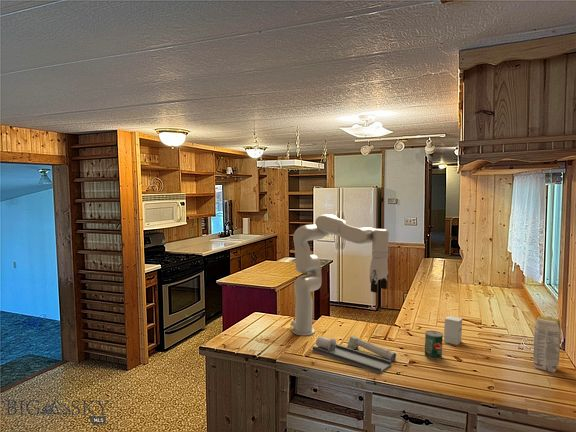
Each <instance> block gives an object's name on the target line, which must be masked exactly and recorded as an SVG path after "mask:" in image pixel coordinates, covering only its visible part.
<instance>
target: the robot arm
mask: <svg viewBox="0 0 576 432" xmlns="http://www.w3.org/2000/svg"><path fill="white" fill-rule="evenodd" d="M329 234H332V235H335V236H338V237H340V238H341V239H343V240H345V241H348V242H351V243H353V244H358V245H363V244H370V243H371V260H370V265H369V266H370V267H369V282H370V293H378V285H379V284H378V282H379V280H380V282H379V283H380V285H379V286H380V289H382V290H387V289H388V276H389V269H388V268H389V267H388V264H389V263H388V262H389V261H388V260H389V235H390V234H389V231H388V229H385V228H373V227H360V228H359V227H357V226H356V227H355V226H352V225H349V224H348V223H347V221H346V220H344V219H342V218H339V217H338V216H336V215H334V214H321V215H318V216H317V217H316V219H315V224H305V225H301V226H299V227H298V228H297V229H296V230H295V231H294V233H293V235H292V236H293V245H294V257H295V258H294V259H295V269H296V271H297V273H299V274H305V275H300V276H298V277H297V278H296V279H295V281H294V284H293V286H294V295H295V310H294V311H295V313H294V314H295V315H294V317H295V319H294V321H293V320H292V321H290V325H289V326H292V327H293V328H292V331H291V332H292V333H293V334H295V335H298V336H312V335H314V334H315V333H316V330H315V328H313V302H314V301H313V297H312V294H311V293H312V292H314V291H317V290H319V289H320V288H321V286H322V284H323V283H322V281H323V280H322V277H323V276H322V263H321V261H320V260H321V259H320V258H319V257H318V256H317V255H316V254H311V248H310V245H309V243H308V242H309V241H315V240H316V241H317V240H321V239H322V238H324V237H326V236H328V235H329ZM306 273H307V274H306Z"/></svg>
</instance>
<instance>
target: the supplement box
mask: <svg viewBox="0 0 576 432" xmlns="http://www.w3.org/2000/svg"><path fill="white" fill-rule="evenodd" d="M443 330H444V331H443V342H444V343H447V344H450V345H451V344H452V345H456V346H458V345H459V344H460V343H461V342H462V332H463V318H462V317H458V316H457V317H456V316H453V315H452V316H451V315H447V317H445V318H444V329H443Z"/></svg>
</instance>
